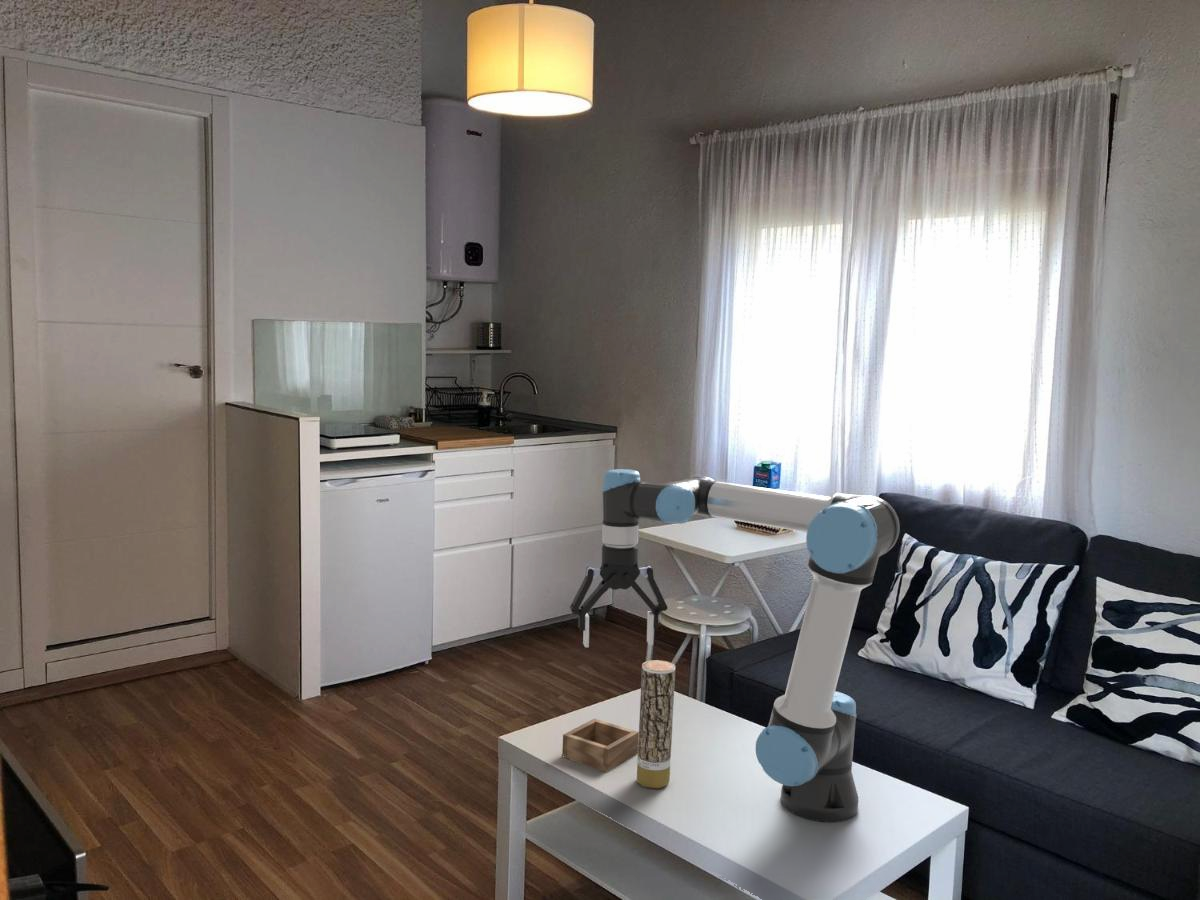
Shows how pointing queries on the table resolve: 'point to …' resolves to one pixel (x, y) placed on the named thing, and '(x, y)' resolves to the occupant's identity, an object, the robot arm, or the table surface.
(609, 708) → the table surface
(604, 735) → the holder
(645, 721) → the paper tube
